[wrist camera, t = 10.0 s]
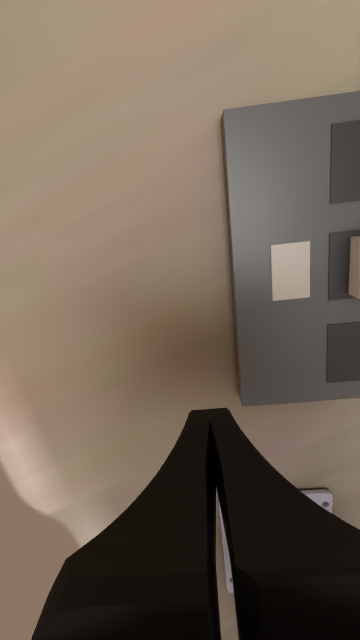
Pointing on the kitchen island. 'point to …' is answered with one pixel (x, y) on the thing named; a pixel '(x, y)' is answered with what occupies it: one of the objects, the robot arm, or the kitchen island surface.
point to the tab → (354, 267)
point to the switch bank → (294, 247)
